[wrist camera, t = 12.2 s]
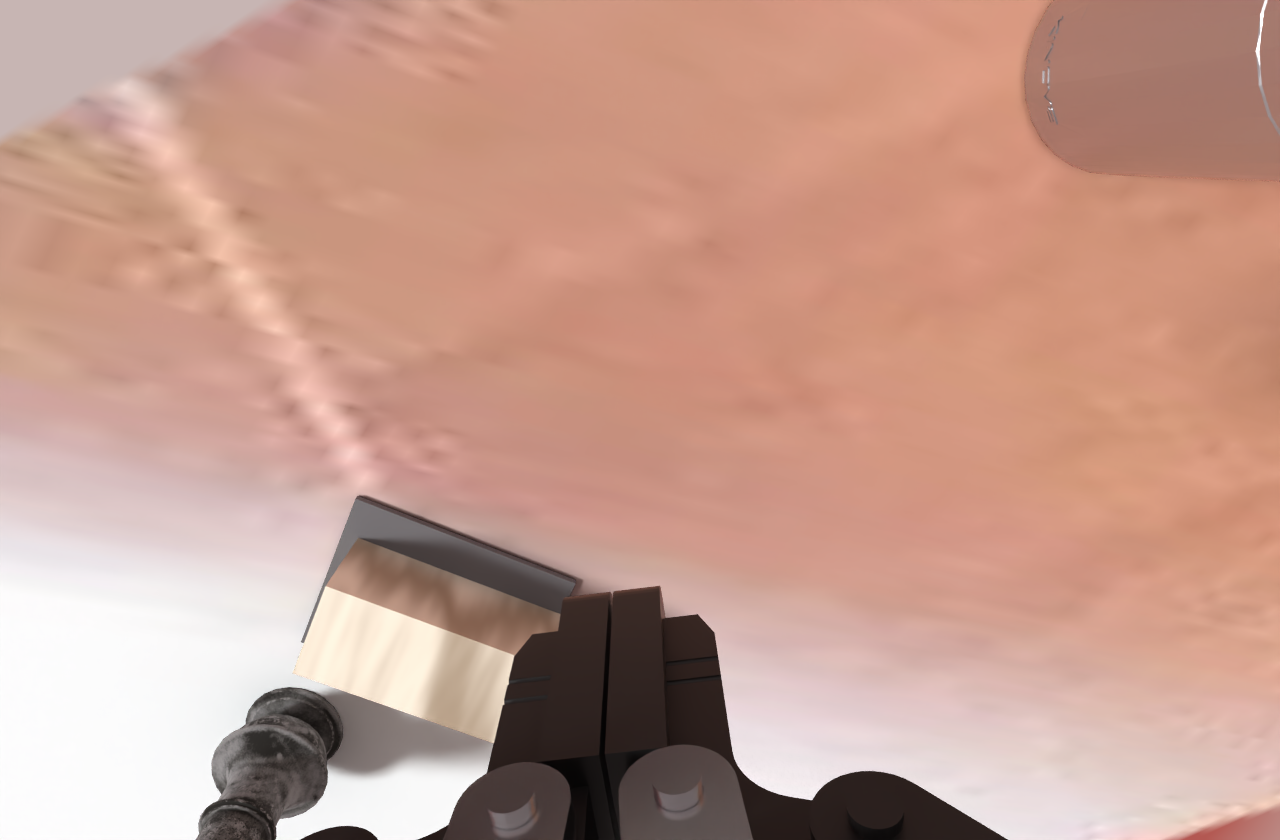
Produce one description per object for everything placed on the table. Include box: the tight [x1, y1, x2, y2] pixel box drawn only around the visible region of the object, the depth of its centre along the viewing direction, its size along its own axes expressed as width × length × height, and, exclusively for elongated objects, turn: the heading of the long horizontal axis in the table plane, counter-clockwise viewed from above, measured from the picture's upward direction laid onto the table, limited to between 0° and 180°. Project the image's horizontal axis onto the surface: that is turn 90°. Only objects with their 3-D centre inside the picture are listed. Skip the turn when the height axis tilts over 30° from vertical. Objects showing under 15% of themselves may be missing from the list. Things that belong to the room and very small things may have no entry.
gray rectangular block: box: [301, 496, 576, 643], centre depth 44 cm, size 12×9×1 cm
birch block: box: [293, 538, 560, 743], centre depth 42 cm, size 5×5×12 cm
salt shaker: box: [196, 688, 343, 840], centre depth 41 cm, size 6×6×12 cm
